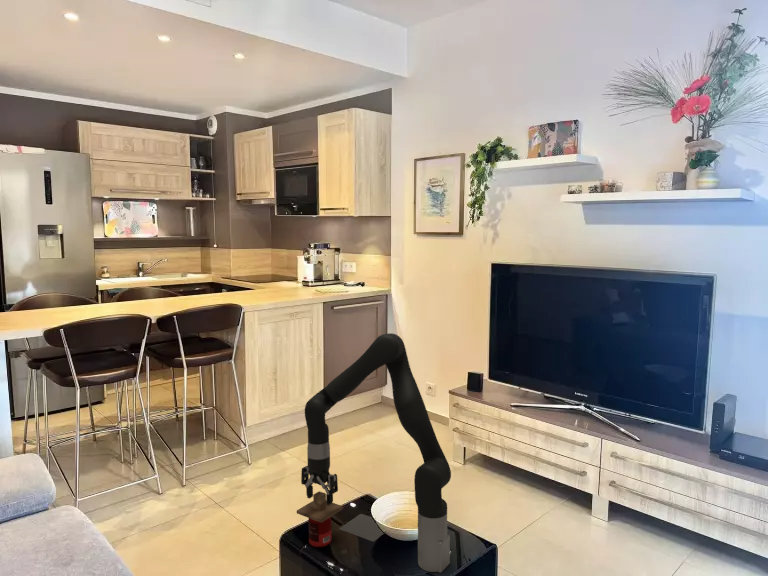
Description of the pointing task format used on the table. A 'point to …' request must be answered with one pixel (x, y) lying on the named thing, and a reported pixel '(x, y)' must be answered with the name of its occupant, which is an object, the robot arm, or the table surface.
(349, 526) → the mat
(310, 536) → the canned food
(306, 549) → the table surface
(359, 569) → the table surface
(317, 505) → the lid
